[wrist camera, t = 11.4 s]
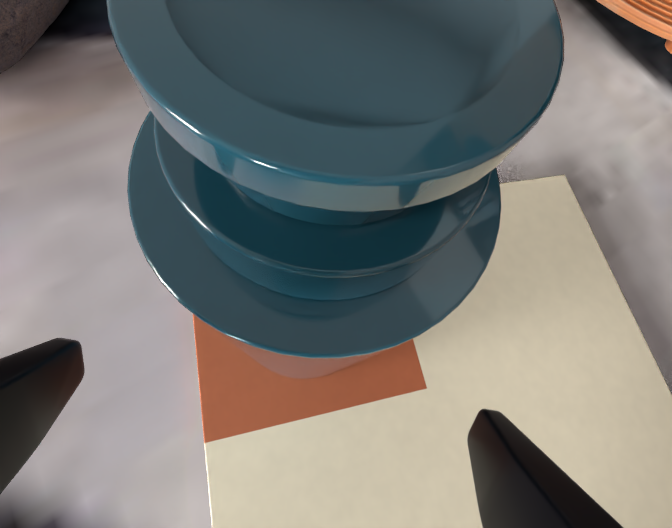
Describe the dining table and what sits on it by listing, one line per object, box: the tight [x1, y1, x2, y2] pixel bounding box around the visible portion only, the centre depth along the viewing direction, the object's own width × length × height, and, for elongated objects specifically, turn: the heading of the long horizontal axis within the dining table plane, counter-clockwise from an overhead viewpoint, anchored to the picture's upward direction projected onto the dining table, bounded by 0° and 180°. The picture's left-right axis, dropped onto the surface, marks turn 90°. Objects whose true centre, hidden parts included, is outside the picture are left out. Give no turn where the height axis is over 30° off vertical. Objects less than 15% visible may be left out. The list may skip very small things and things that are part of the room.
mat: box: [193, 175, 672, 528], centre depth 15 cm, size 20×20×1 cm
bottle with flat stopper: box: [106, 0, 564, 379], centre depth 9 cm, size 6×6×13 cm
